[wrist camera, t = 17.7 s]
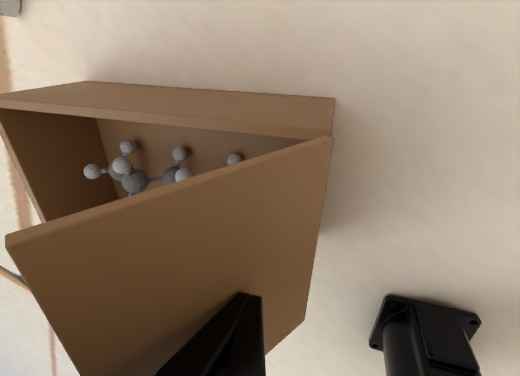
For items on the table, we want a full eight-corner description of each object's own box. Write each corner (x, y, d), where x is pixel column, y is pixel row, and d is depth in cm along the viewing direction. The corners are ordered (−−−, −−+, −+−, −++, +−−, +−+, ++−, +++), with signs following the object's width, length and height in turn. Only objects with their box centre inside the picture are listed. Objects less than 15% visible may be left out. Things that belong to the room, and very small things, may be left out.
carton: (335, 98, 15) (331, 130, 10) (314, 235, 20) (304, 307, 15) (85, 80, 19) (-19, 96, 14) (118, 199, 24) (52, 246, 18)
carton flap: (324, 135, 9) (334, 138, 9) (298, 315, 14) (304, 320, 14) (3, 234, 4) (4, 246, 4) (132, 459, 9) (136, 471, 9)
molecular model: (125, 178, 22) (73, 210, 18) (114, 128, 20) (52, 151, 16) (288, 210, 19) (273, 258, 15) (295, 156, 17) (280, 194, 13)
